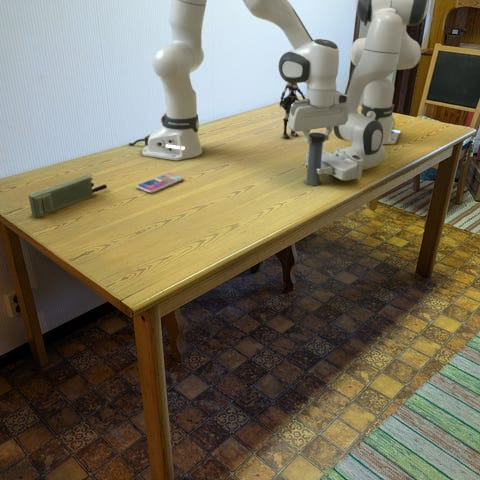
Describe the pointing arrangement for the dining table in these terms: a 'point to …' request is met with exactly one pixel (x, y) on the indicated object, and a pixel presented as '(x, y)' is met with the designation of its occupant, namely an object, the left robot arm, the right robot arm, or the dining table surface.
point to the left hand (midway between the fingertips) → (316, 141)
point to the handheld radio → (62, 195)
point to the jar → (314, 163)
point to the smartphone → (159, 182)
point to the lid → (317, 137)
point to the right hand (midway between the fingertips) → (311, 168)
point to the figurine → (289, 104)
